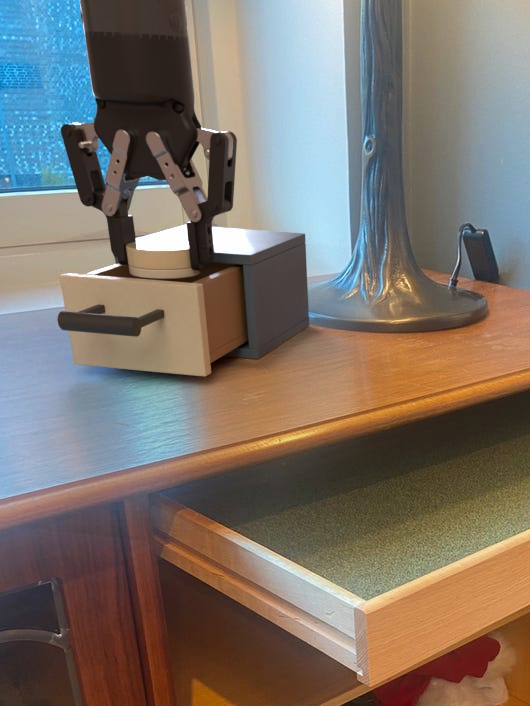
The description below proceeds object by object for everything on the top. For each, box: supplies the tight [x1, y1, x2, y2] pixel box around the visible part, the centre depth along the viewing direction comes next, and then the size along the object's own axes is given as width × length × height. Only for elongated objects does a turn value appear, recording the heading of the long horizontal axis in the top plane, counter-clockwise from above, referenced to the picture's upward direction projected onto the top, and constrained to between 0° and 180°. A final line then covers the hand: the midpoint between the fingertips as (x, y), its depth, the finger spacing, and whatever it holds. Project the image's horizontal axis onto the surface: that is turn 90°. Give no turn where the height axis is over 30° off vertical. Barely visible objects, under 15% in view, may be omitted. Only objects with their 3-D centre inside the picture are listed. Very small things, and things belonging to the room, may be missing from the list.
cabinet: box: [114, 224, 310, 360], centre depth 92 cm, size 15×13×9 cm
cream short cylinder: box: [126, 240, 201, 279], centre depth 80 cm, size 6×6×2 cm
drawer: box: [57, 262, 248, 377], centre depth 80 cm, size 19×12×7 cm, turn 171°
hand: (164, 265), depth 81 cm, fingers closed on cream short cylinder, 5 cm apart
